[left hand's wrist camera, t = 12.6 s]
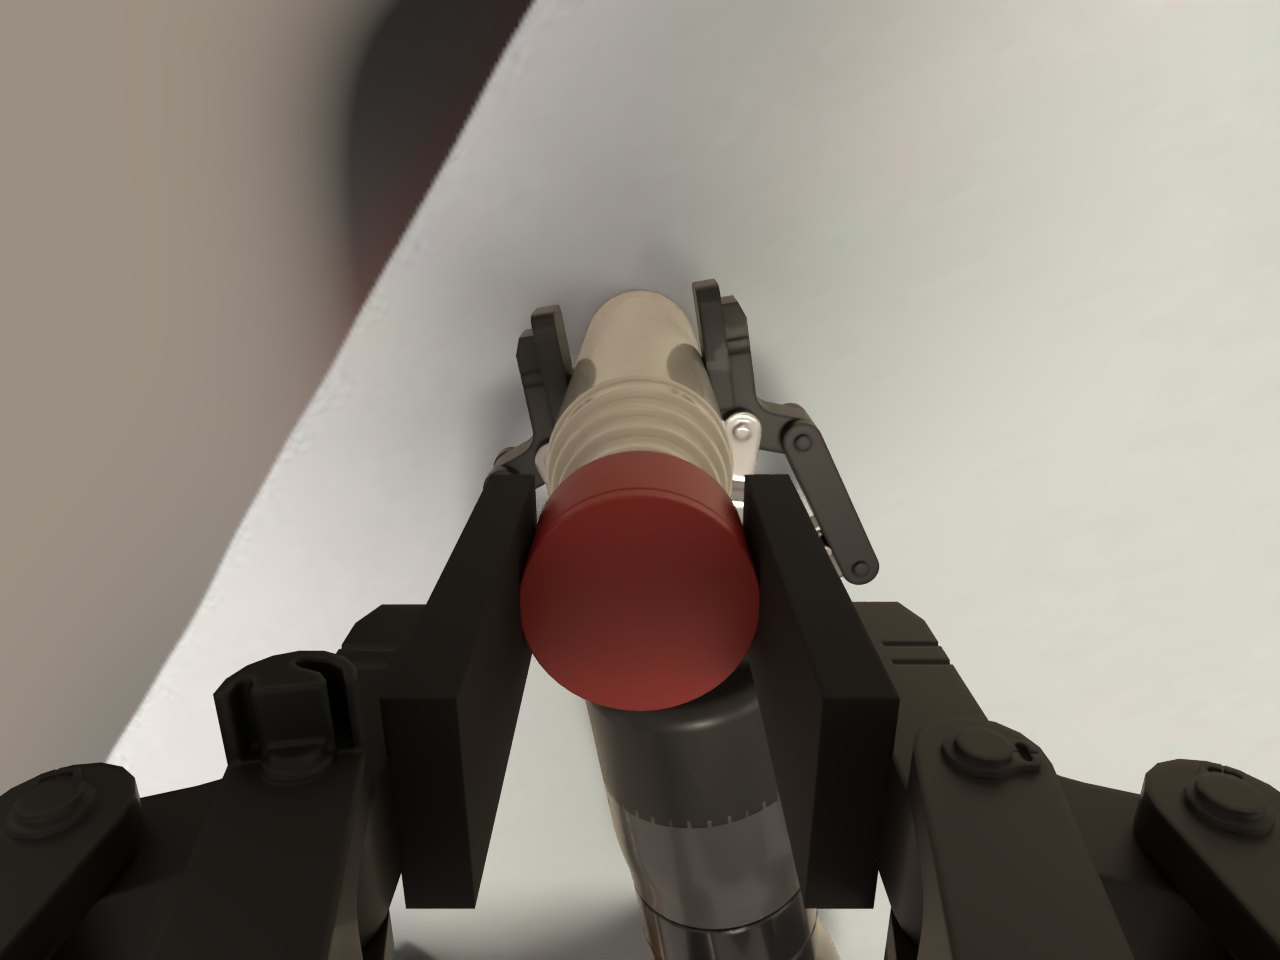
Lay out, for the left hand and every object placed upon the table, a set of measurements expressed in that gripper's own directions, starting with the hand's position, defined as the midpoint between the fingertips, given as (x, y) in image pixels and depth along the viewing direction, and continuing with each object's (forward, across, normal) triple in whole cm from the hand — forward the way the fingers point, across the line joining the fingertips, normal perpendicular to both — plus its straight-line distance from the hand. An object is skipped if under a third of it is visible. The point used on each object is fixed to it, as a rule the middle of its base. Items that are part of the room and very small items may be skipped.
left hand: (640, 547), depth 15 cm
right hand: (+12, 0, -3) cm, 12 cm away
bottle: (+19, 0, 0) cm, 19 cm away
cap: (-2, 0, 0) cm, 2 cm away
